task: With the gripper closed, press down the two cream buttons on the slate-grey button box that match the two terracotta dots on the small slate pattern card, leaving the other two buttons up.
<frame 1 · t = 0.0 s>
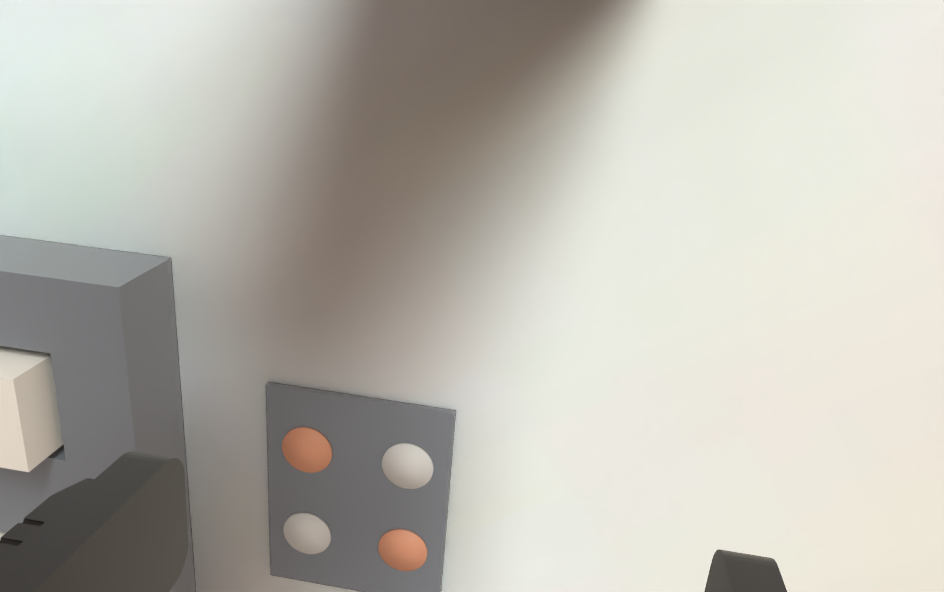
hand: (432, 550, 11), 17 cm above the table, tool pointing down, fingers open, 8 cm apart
pattern card: (358, 496, 32), on the table
button 2: (30, 582, 32), point 4 cm above the table, slide at 0.0 cm
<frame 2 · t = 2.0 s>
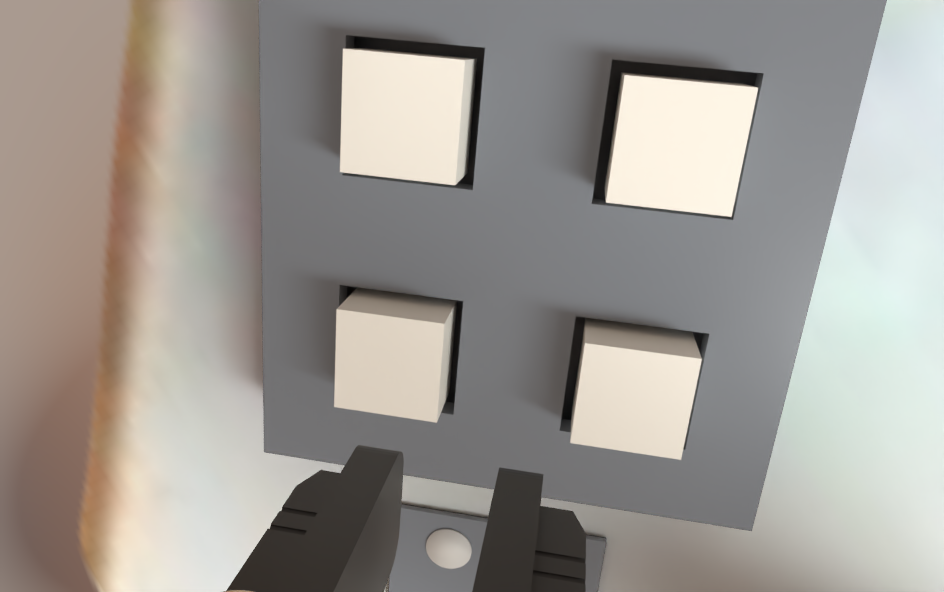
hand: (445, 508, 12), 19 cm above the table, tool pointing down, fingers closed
button 4: (409, 114, 25), point 4 cm above the table, slide at 0.0 cm
button 3: (674, 142, 24), point 4 cm above the table, slide at 0.0 cm
button 1: (631, 386, 27), point 4 cm above the table, slide at 0.0 cm
pattern card: (491, 589, 36), on the table
button box: (532, 231, 30), on the table
button 2: (396, 353, 28), point 4 cm above the table, slide at 0.0 cm
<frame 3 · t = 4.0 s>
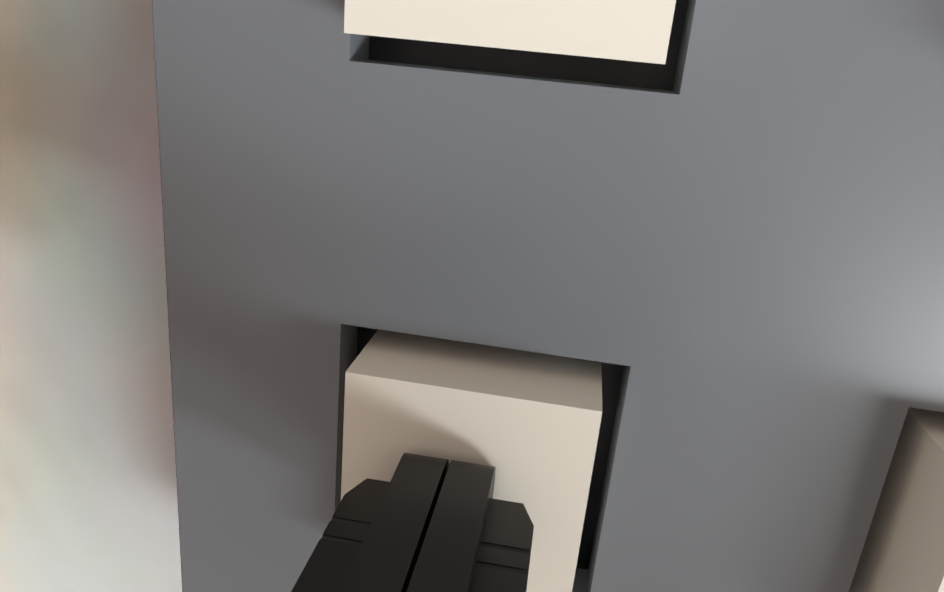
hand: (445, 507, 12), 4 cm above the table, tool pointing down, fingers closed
button box: (751, 208, 14), on the table
button 2: (472, 459, 13), point 3 cm above the table, slide at 0.6 cm, touching gripper
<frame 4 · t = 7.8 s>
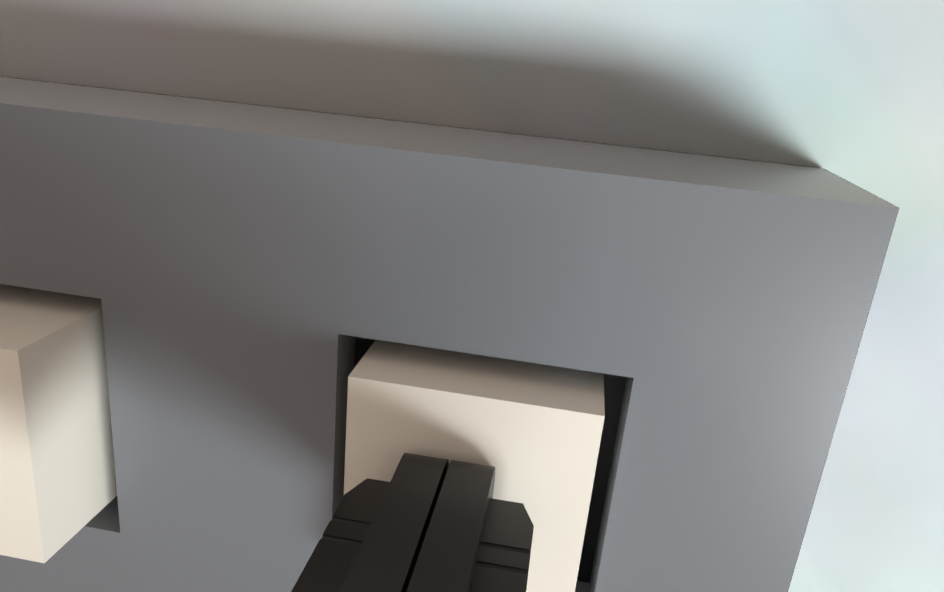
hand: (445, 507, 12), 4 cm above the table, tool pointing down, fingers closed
button 3: (474, 463, 13), point 3 cm above the table, slide at 0.9 cm, touching gripper
button box: (293, 530, 18), on the table
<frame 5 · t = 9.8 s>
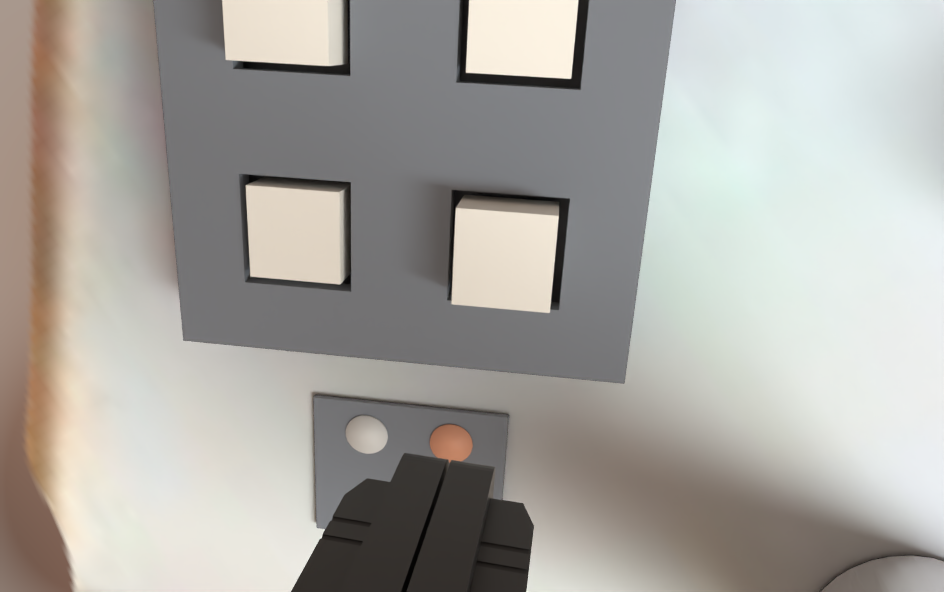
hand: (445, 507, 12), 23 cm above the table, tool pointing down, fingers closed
button 4: (287, 7, 28), point 4 cm above the table, slide at 0.0 cm
button 3: (523, 20, 28), point 2 cm above the table, slide at 1.2 cm
button 1: (506, 252, 30), point 4 cm above the table, slide at 0.0 cm
pattern card: (409, 472, 39), on the table
button box: (418, 124, 33), on the table
button 2: (303, 228, 32), point 2 cm above the table, slide at 1.2 cm
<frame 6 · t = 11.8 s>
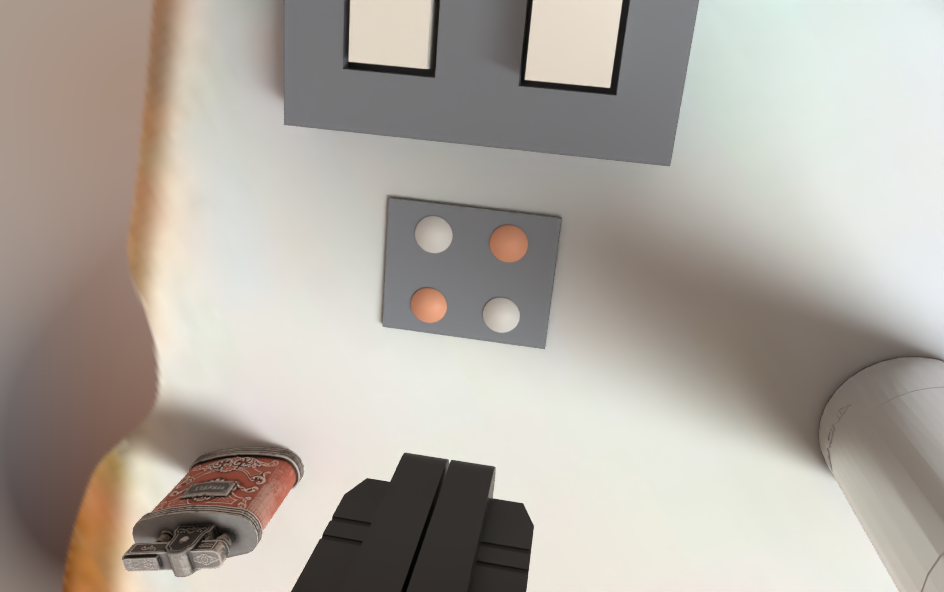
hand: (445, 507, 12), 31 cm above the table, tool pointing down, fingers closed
lighter: (250, 467, 51), on the table
button 1: (573, 39, 35), point 4 cm above the table, slide at 0.0 cm
pattern card: (468, 273, 43), on the table
button 2: (395, 23, 37), point 2 cm above the table, slide at 1.2 cm
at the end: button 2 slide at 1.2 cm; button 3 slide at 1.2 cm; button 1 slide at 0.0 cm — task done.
